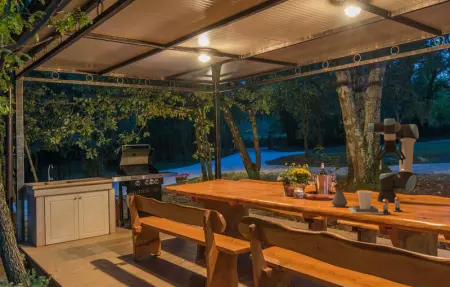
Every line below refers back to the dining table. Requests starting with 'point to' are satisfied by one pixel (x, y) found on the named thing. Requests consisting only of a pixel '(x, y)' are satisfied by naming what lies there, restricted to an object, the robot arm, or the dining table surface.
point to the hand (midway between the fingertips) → (390, 169)
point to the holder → (365, 210)
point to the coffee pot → (339, 198)
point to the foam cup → (365, 199)
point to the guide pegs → (397, 209)
